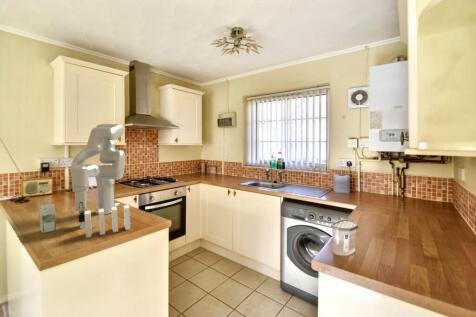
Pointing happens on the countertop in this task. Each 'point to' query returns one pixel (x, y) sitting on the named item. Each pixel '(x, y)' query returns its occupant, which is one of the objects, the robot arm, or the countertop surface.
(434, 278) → the countertop surface
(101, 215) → the domino
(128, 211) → the domino
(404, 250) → the countertop surface
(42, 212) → the syrup box
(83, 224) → the sage domino
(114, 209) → the domino
